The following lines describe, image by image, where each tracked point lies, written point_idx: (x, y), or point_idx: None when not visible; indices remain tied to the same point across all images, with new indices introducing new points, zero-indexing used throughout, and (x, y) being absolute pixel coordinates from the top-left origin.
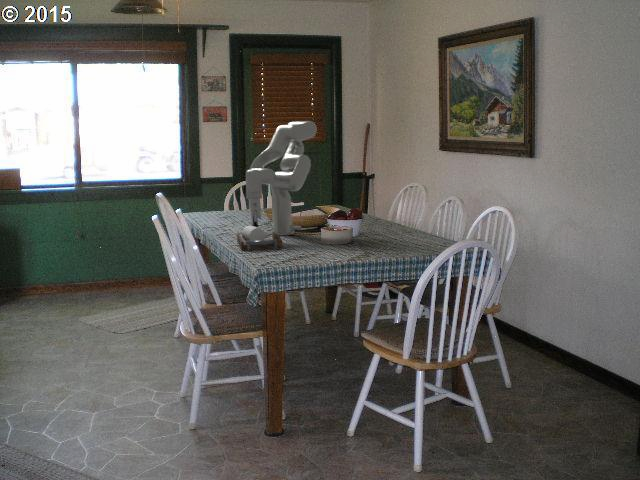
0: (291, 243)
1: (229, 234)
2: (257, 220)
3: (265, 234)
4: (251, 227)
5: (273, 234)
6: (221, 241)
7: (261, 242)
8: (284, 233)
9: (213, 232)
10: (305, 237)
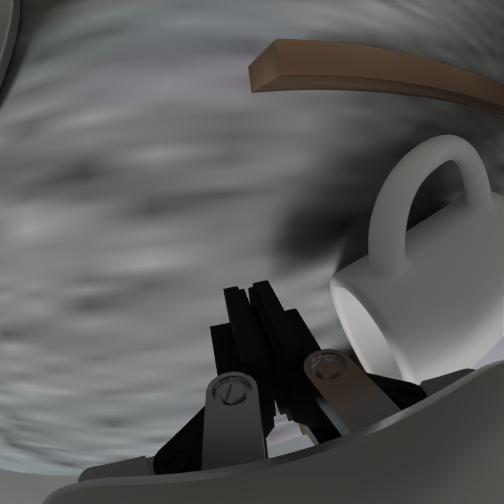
0: (447, 6)
1: (22, 429)
2: (393, 408)
3: (489, 190)
4: (499, 340)
5: (385, 83)
6: (269, 442)
7: None
8: (11, 9)
9: (8, 460)
10: None
